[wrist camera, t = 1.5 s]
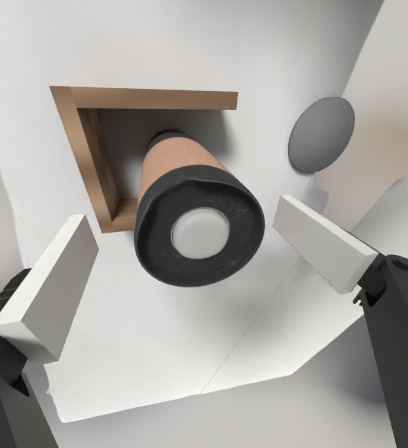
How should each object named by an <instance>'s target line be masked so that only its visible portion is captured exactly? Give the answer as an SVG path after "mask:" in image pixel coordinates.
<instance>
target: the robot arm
mask: <svg viewBox="0 0 408 448" xmlns="http://www.w3.org/2000/svg"><path fill="white" fill-rule="evenodd" d="M272 227H273V228H274V229H275V230H276V231H277V232H278V233H279V234H280V235H281V236H282V237H283V238H284V239H285V240H286V241H287V242H288V243H289V244H290V245H291V246H292V247H293V248H294V249H295V250H296V251H297V252H298V253H299V254H300V255H301V256H302V257H303V258H304V259H305V260H306V261H307V262H308V263H309V264H310V265H311V266H312V267H313V268H314V269H315V270H316V271H317V272H318V273H319V274H320V275H321V276H322V277H323V278H324V279H325V280H326V281H327V282H328V283H329V284H330V285H331V286H332V287H333V288H334V289H335V290H336V291H337V292H338V293H339V294H344V293H349V292H352V291H353V289H354V288H355V286H356V285H357V284H358V285H359V286H360V287H361V288H362V289H361V290H360V291H359V293H358V294H357V296H356V297H355V298H354V300H353V303H354V304H356V302H357V301H358V300H361V303H360V304H359V305H360V306H363V311H364V315H365V319H366V323H367V327H368V331H369V335H370V339H371V343H372V347H373V352H374V356H375V360H376V364H377V368H378V372H379V376H380V380H381V384H382V389H383V392H384V397H385V401H386V405H387V409H388V413H389V418H390V421H391V426H392V429H393V434H394V438H395V442H396V446H397V448H408V259H407V258H404V257H401V256H398V255H387V256H385V255H383V254H382V253H380V252H378V251H377V250H375V249H374V248H372V247H371V246H369V245H368V244H366V243H365V242H363V241H361V240H358V238H357V237H355V236H354V235H352V234H351V233H349V232H348V231H346V230H344V229H342V228H340V227H338V226H336V225H335V224H334V223H332V222H330V221H329V220H327V219H326V218H324V217H323V216H321V215H320V214H318V213H317V212H315V211H314V210H312V209H311V208H309V207H308V206H306V205H304V204H303V203H301V202H300V201H298V200H297V199H295V198H294V197H292V196H291V195H282V196H280V199H279V203H278V207H277V211H276V215H275V219H274V223H273V226H272ZM98 250H99V249H98V246H97V243H96V241H95V238H94V236H93V233H92V230H91V228H90V225H89V223H88V220H87V218H86V215H85V214H81V215H71V216H70V217H69V219H68V220H67V221H66V223H65V224H64V225H63V227H62V228H61V230H60V231H59V232H58V234H57V235H56V236H55V238H54V239H53V241H52V242H51V243H50V245H49V246H48V247H47V249H46V250H45V252H44V253H43V254H42V256H41V257H40V258H39V260H38V261H37V263H36V264H35V265H34V267H33V268H29V269H24V270H23V271H22V272H20V273H19V274H17V275H16V276H15V277H14V278H12V279H11V280H10V282H9V283H8V284H7V285H6V287H5V288H4V289H3V291H2V292H1V293H0V448H58V445H57V443H56V441H55V438H54V436H53V434H52V432H51V430H50V428H49V425H48V423H47V421H46V418H45V416H44V414H43V412H42V410H41V407H40V405H39V403H38V401H37V398H36V396H35V394H34V392H33V390H32V387H31V385H30V383H29V381H28V378H27V376H26V374H25V373H24V372H22V369H23V367H24V365H25V363H26V361H27V359H28V360H29V361H30V362H31V363H32V364H34V365H35V366H38V365H42V364H46V363H50V362H55V361H58V360H59V358H60V355H61V352H62V349H63V347H64V344H65V341H66V338H67V336H68V333H69V330H70V327H71V325H72V322H73V319H74V316H75V314H76V311H77V308H78V305H79V303H80V300H81V297H82V294H83V292H84V289H85V286H86V283H87V281H88V278H89V275H90V272H91V270H92V267H93V264H94V261H95V259H96V256H97V253H98Z"/></svg>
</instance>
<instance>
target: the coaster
mask: <svg viewBox="0 0 408 448" xmlns="http://www.w3.org/2000/svg"><path fill="white" fill-rule="evenodd" d="M354 122H355V115H354V111H353V108H352V106H351V104H350V103H349V102H348V101H347V100H345V99H343V98H339V97H330V98H324V99H322V100H319V101H317V102H316V103H314V104H313V105H311V106H310V107H309V108H308V109H307V110H306V111H305V112H304V113H303V114H302V115H301V116H300V118H299V119H298V121H297V122H296V124H295V126H294V128H293V130H292V132H291V135H290V139H289V144H288V154H289V159H290V161H291V163H292V165H293V166H294V167H295V168H297V169H298V170H300V171H303V172H306V173H313V172H317V171H320V170H322V169H324V168H326V167H328V166H329V165H330V164H332V163H333V162H334V161H335V160H336V159H337V158H338V157H339V156H340V155H341V153H342V152H343V151H344V149H345V148H346V146H347V144H348V142H349V140H350V138H351V136H352V133H353V129H354Z"/></svg>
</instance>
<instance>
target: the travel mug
mask: <svg viewBox="0 0 408 448" xmlns="http://www.w3.org/2000/svg"><path fill="white" fill-rule="evenodd" d="M264 230H265V219H264V214H263V211H262V208H261V206H260V204H259V202H258V201H257V199H256V198H255V197H254V196H253V194H252V193H251V192H250V191H249V190H248V189H247V188H246V187H245V186H244V185H243V184H242V183H241V182H240V181H239V180H237V179H236V178H235V177H234V176H233V175H232V174H231V173H230V172H229V171H228V170H227V169H226V168H225V167H224V166H223V165H222V164H221V163H220V162H219V161H218V160H217V159H215V158H214V157H213V156H212V155H211V154H210V153H209V152H208V151H207V150H206V149H205V148H204V147H203V146H202V145H200V144H199V143H198V142H196V141H195V140H193V139H192V138H191V137H189V136H188V135H186V134H185V133H183V132H181V131H178V130H173V129H168V130H164V131H161V132H159V133H157V134H156V135H155V136H154V137H153V138H152V139H151V141H150V142H149V144H148V147H147V150H146V154H145V158H144V161H143V165H142V172H141V181H140V190H139V198H138V207H137V216H136V225H135V233H134V246H135V251H136V255H137V258H138V260H139V262H140V263H141V265H142V267H143V268H144V269H145V270H146V271H147V272H148V273H149V274H150V275H151V276H152V277H154V278H156V279H157V280H159V281H161V282H163V283H166V284H169V285H173V286H178V287H200V286H206V285H210V284H213V283H216V282H219V281H221V280H224V279H226V278H228V277H230V276H231V275H233V274H235V273H236V272H238V271H239V270H240V269H241V268H243V267H244V266H245V265H246V264H247V263H248V262H249V261H250V260H251V259H252V257H253V256H254V255H255V253H256V252H257V250H258V248H259V246H260V244H261V242H262V239H263V236H264Z"/></svg>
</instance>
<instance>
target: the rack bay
mask: <svg viewBox="0 0 408 448" xmlns="http://www.w3.org/2000/svg"><path fill="white" fill-rule="evenodd" d="M49 87H50V90H51V93H52V95H53V98H54V101H55V104H56V106H57V109H58V112H59V115H60V118H61V120H62V123H63V126H64V129H65V131H66V134H67V137H68V140H69V143H70V145H71V148H72V151H73V154H74V156H75V159H76V162H77V165H78V168H79V170H80V173H81V176H82V179H83V181H84V184H85V187H86V190H87V193H88V195H89V198H90V201H91V204H92V206H93V209H94V212H95V215H96V218H97V220H98V223H99V226H100V229H101V231H102V234H103V233H112V232H120V231H129V230H135V225H136V216H137V207H138V198H133V199H121V200H119V196H118V192H117V189H116V185H115V181H114V177H113V173H112V170H111V166H110V162H109V158H108V154H107V151H106V147H105V143H104V139H103V135H102V132H101V128H100V124H99V120H98V116H97V112H96V109H95V108H126V109H215V110H236V108H237V97H238V92H221V91H190V90H158V89H127V88H95V87H64V86H49Z"/></svg>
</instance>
